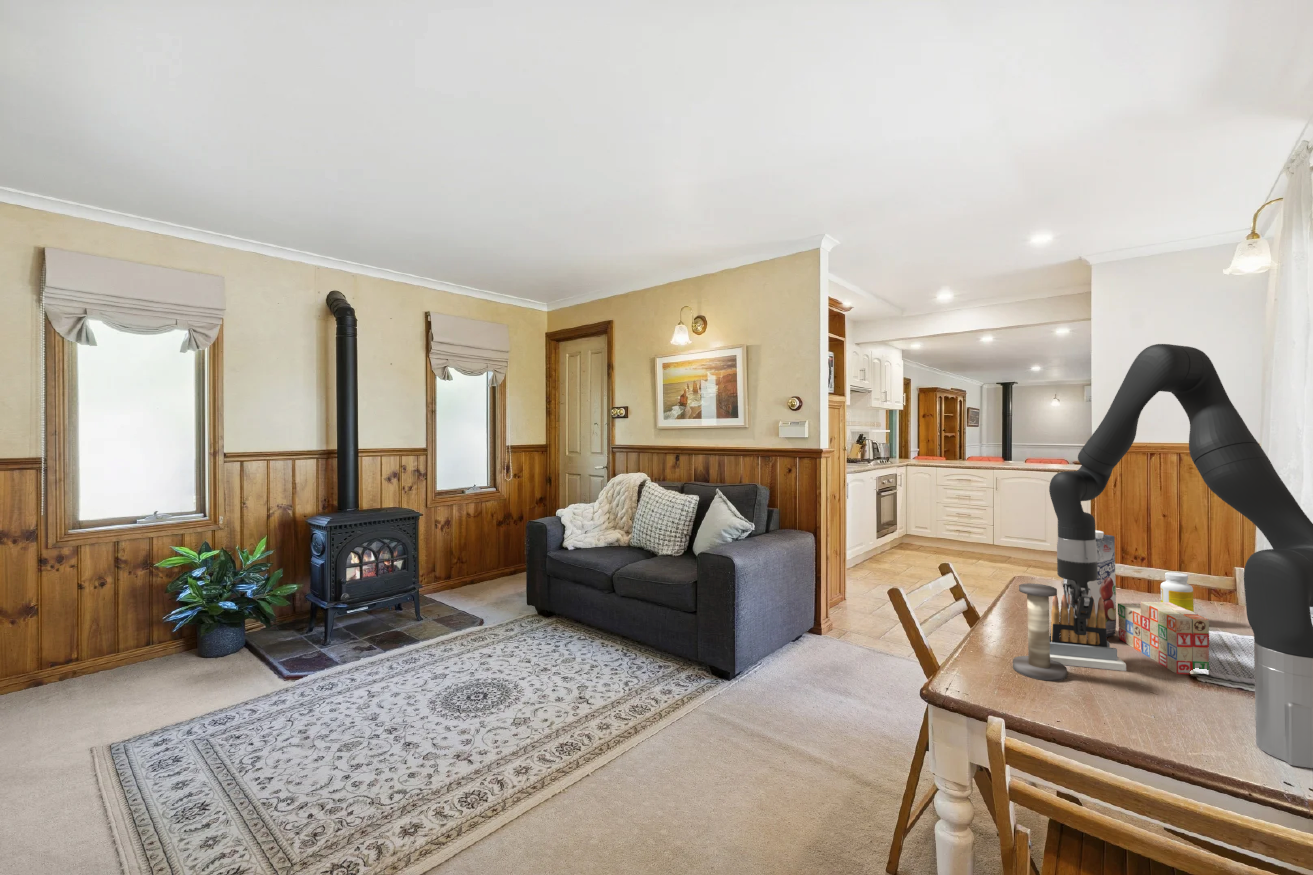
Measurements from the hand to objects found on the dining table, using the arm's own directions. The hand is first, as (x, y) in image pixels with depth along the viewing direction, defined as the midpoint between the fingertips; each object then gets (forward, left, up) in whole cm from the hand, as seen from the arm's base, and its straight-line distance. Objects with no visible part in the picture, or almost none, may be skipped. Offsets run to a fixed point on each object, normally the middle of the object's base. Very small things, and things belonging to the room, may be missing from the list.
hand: (1078, 632), depth 134 cm
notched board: (0, 0, -6) cm, 6 cm away
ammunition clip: (0, 0, -4) cm, 4 cm away
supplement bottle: (+38, -33, -7) cm, 51 cm away
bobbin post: (-10, +10, -6) cm, 16 cm away
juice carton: (+20, -8, -7) cm, 22 cm away
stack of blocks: (+8, -18, -7) cm, 21 cm away
